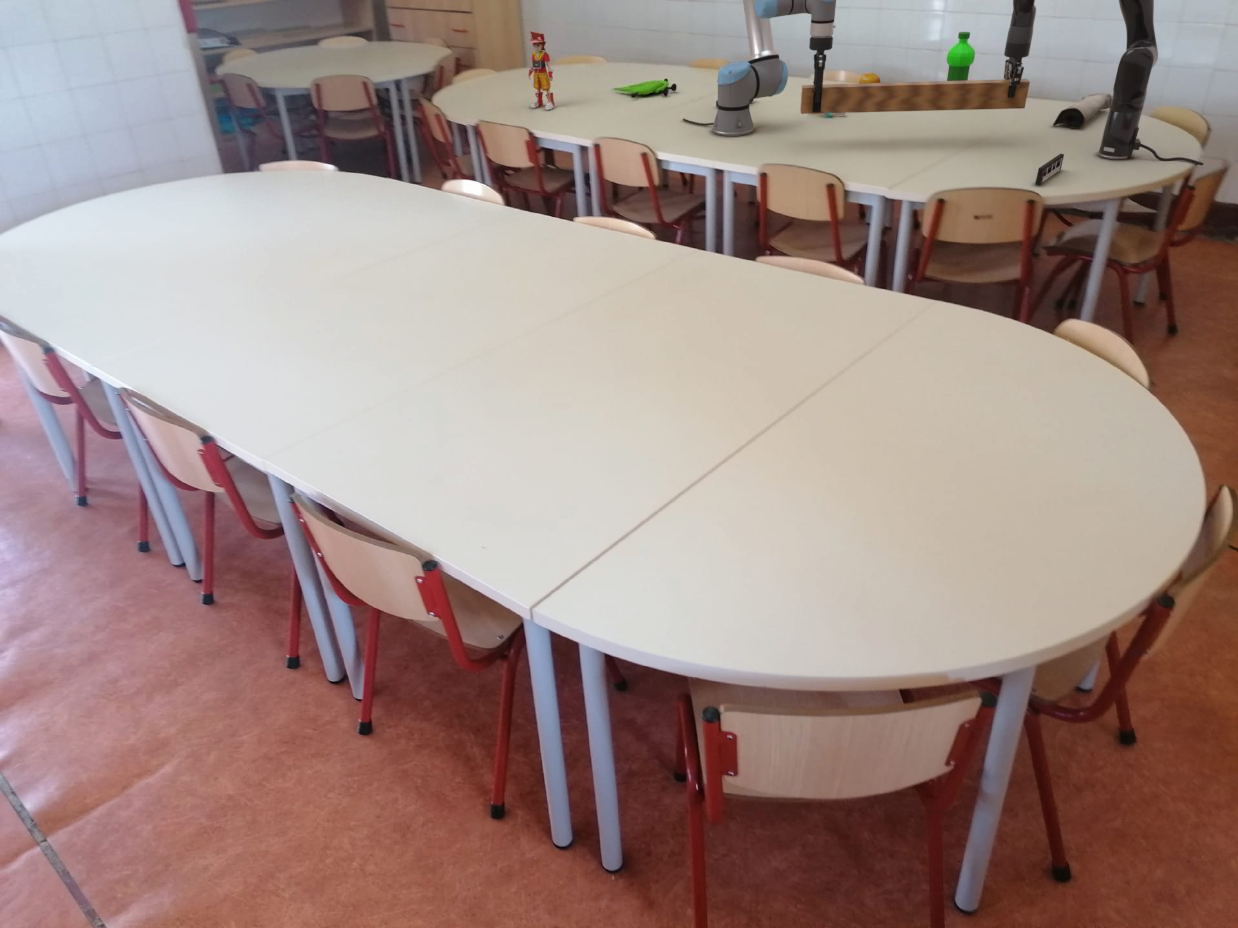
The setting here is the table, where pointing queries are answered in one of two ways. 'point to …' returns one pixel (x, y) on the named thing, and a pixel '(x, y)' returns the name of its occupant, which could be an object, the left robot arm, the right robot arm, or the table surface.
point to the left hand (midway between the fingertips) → (816, 109)
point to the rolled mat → (1083, 110)
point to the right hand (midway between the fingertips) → (1008, 95)
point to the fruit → (869, 78)
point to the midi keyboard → (1049, 169)
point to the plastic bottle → (960, 58)
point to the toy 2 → (648, 88)
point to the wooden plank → (915, 96)
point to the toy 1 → (541, 71)
